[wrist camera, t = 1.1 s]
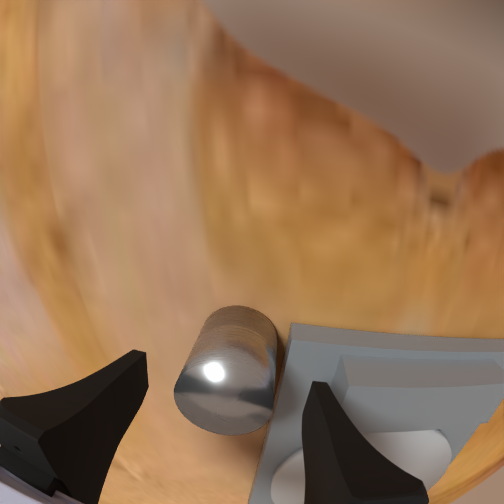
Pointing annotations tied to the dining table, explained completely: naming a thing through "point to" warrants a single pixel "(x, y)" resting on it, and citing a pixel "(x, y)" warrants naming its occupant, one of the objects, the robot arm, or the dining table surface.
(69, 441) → the robot arm
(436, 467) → the scale
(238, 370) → the cylinder
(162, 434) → the dining table surface
